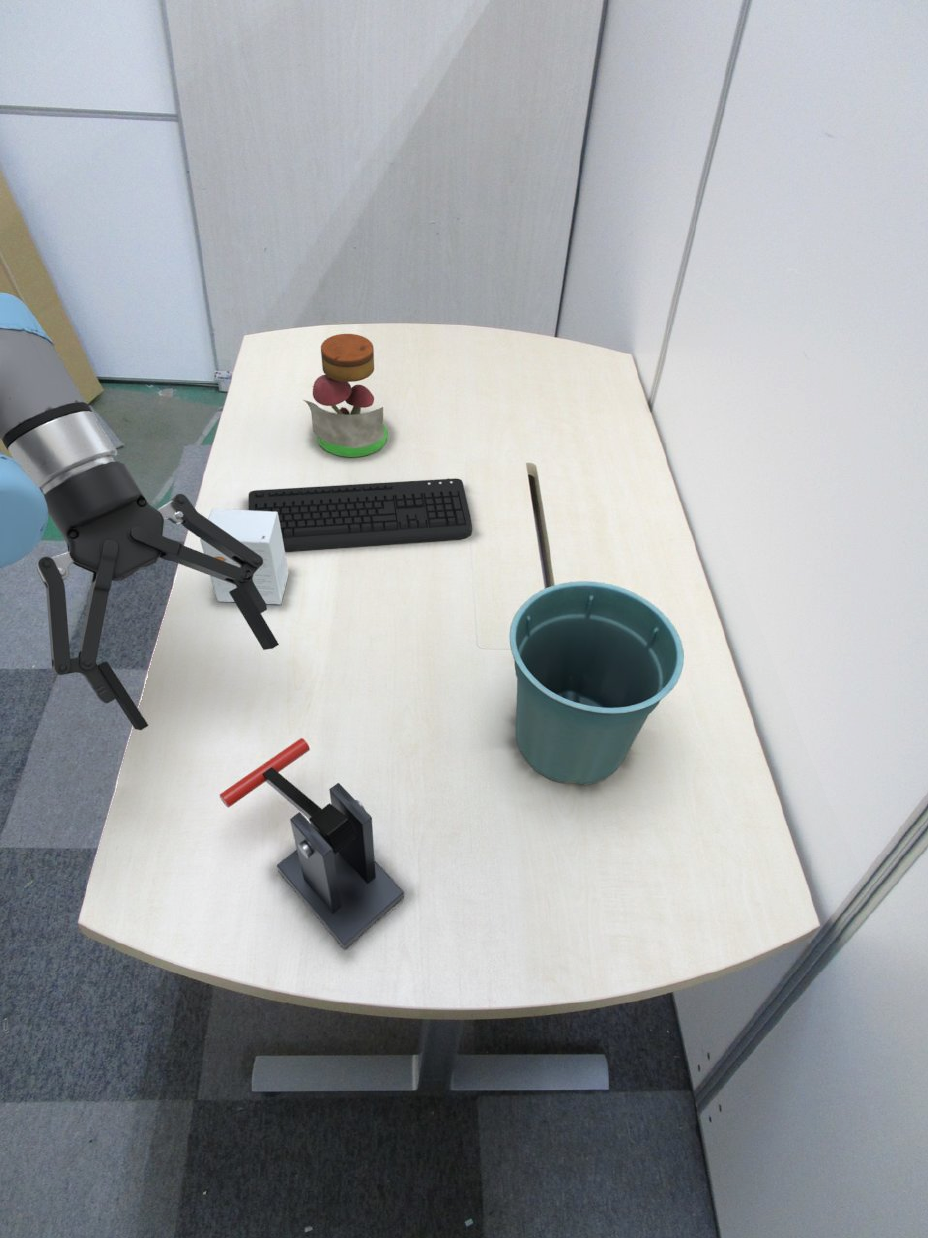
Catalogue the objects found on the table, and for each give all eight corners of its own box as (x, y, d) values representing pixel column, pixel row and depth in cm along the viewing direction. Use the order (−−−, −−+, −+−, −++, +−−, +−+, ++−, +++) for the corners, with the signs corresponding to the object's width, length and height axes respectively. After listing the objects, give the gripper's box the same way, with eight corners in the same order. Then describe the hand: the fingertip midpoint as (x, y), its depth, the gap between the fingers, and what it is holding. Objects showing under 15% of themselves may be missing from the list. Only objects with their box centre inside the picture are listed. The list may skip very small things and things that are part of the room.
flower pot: (484, 682, 90) (496, 583, 78) (622, 672, 92) (654, 575, 80) (509, 811, 79) (527, 720, 67) (664, 797, 81) (709, 705, 69)
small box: (289, 574, 100) (279, 510, 92) (281, 606, 96) (270, 542, 88) (226, 570, 100) (211, 506, 92) (215, 602, 96) (198, 538, 88)
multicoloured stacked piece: (307, 415, 123) (298, 325, 112) (388, 414, 125) (386, 325, 114) (306, 461, 115) (296, 369, 104) (392, 459, 117) (391, 368, 106)
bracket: (277, 870, 74) (258, 803, 64) (337, 824, 77) (327, 754, 68) (344, 950, 69) (334, 890, 60) (404, 897, 73) (404, 833, 63)
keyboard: (249, 554, 102) (246, 543, 100) (250, 500, 109) (248, 489, 107) (473, 538, 106) (474, 527, 105) (460, 487, 113) (461, 476, 112)
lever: (224, 807, 71) (215, 788, 70) (305, 750, 76) (297, 731, 75) (301, 882, 63) (292, 862, 61) (387, 812, 67) (380, 793, 66)
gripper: (196, 434, 77) (304, 620, 81) (-70, 549, 65) (74, 762, 69) (217, 411, 71) (333, 614, 75) (-74, 534, 58) (85, 769, 63)
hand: (209, 686), depth 72 cm, fingers open, 13 cm apart
